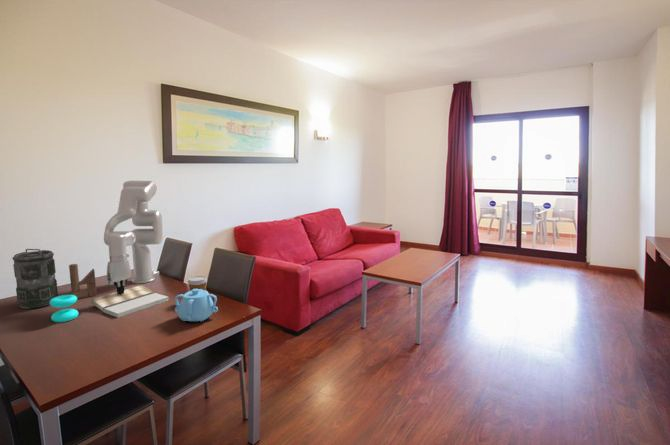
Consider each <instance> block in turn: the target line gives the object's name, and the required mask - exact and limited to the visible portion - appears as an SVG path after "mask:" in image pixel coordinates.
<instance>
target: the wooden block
mask: <svg viewBox="0 0 670 445" xmlns="http://www.w3.org/2000/svg"><path fill="white" fill-rule="evenodd" d="M78 266H79V265H78V264H77V263H72V264H68V269H69V278H70V280H69V281H70V287H71V290H70V291H71V292H70V295H75V296H76V297H77V300H78V299H83V298H88V297H95V296H97V284H96V274H95V271H96V270H95V269H94V268H92V269H91V270H89V272H87V274H86V275H85V276H84V278H82V279H81V281H80V277H79V268H78ZM82 285H86V288H87V289H81V288H80V287H81V286H82Z"/></svg>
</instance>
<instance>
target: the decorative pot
mask: <svg viewBox="0 0 670 445" xmlns="http://www.w3.org/2000/svg"><path fill="white" fill-rule="evenodd" d="M178 298H181V300H180V302H179V299H178ZM217 298H218V297H217V295H215V294H213V293H209V292H208V290H207V289H206V290H203V289H193V290H192V291H190V290H189V291H187V292H185V293H184V294H183V293H181V294H177V295H176V296H175V297H174V302H175V308H174V312H175V313H177V316H178V317H179V319H180V320H181V321H183V322H184V321H189V322H199V321H200V323H201V322H202V321H203V322H205V321H206V320H207V319H208V318H210V317H211V316H212V314H213V313H217V312H218V311H219V308H218V306H216V304H217V301H218V299H217ZM213 299H214V301H213ZM204 320H205V321H204Z"/></svg>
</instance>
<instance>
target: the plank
mask: <svg viewBox="0 0 670 445" xmlns="http://www.w3.org/2000/svg"><path fill="white" fill-rule="evenodd" d="M151 292H154V291H153V290H151V289H149V288H148V287H146V286H145V285H143V284H141V285H138V286H137V285H136V286H133V287H130V288H127V289H124V294H118V293H117V291H115V292H112V293H109V294H106V295H102V296H97V297H95V298H91V304H92V305H94V307H96V308H97V309H98V310H100V311H101V312H104V309H103V307H106V306H109V305H112V304H115V303H119V302H122V301H125V300H128V299H132V298H135V297H138V296H142V295H145V294H148V293H151Z"/></svg>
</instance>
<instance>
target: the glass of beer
mask: <svg viewBox="0 0 670 445" xmlns="http://www.w3.org/2000/svg"><path fill="white" fill-rule="evenodd" d="M187 283H188V287H189V291H192V290H193V289H203V290H206V291H207V289H206V288H207V283H208V278H207V276H204V275H195V276H191V277H189V278H188V280H187Z"/></svg>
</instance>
